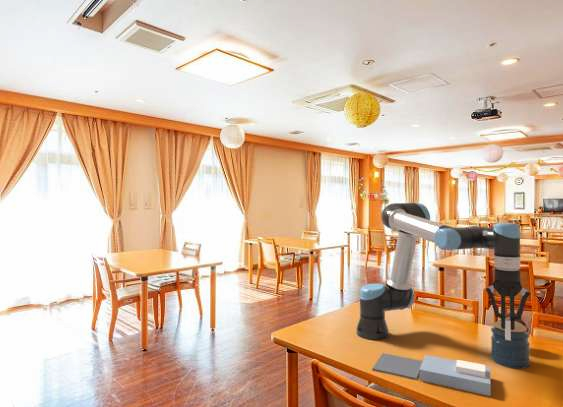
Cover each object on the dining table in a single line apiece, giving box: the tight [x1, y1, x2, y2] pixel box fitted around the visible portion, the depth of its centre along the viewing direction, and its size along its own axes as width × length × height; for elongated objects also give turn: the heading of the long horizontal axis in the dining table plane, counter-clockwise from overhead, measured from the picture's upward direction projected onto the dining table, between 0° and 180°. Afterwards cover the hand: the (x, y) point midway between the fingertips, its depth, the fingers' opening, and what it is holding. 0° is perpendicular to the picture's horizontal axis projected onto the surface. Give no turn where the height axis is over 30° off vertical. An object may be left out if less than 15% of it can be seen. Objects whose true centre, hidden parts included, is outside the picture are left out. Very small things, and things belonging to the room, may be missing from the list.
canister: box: [490, 317, 531, 369], centre depth 144 cm, size 13×13×18 cm
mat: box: [371, 352, 423, 380], centre depth 141 cm, size 16×16×1 cm
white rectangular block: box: [456, 359, 486, 378], centre depth 128 cm, size 9×6×2 cm, turn 61°
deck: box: [418, 354, 492, 397], centre depth 130 cm, size 22×14×4 cm, turn 61°
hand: (507, 338), depth 122 cm, fingers closed
